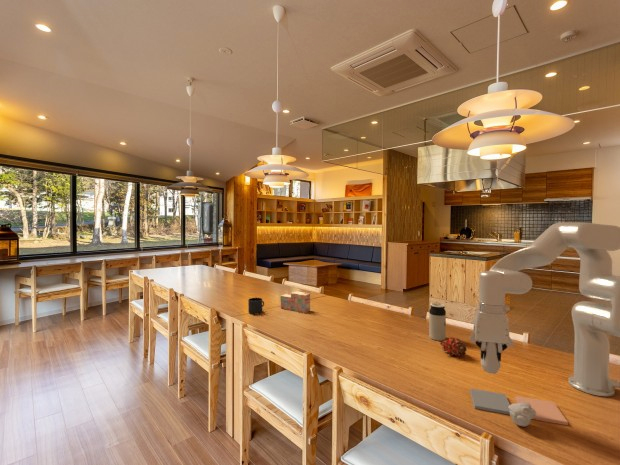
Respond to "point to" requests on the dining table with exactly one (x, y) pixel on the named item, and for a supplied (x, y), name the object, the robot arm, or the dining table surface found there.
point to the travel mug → (437, 322)
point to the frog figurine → (521, 413)
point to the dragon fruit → (454, 346)
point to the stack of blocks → (296, 302)
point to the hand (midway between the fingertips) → (490, 361)
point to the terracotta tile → (544, 410)
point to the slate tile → (490, 401)
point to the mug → (255, 305)
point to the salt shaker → (491, 358)
